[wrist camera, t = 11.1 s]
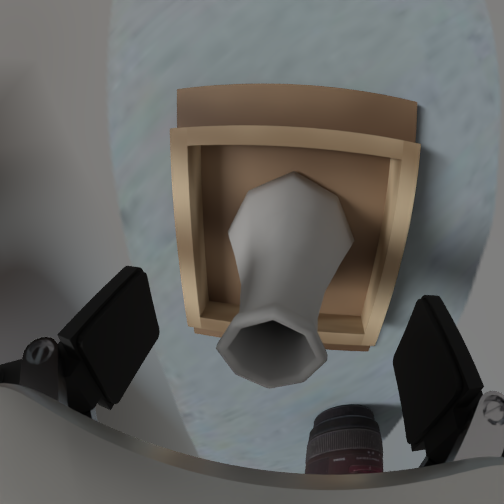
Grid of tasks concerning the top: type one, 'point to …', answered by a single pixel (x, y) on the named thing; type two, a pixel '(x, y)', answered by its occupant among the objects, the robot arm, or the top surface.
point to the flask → (283, 279)
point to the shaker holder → (308, 165)
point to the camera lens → (345, 443)
